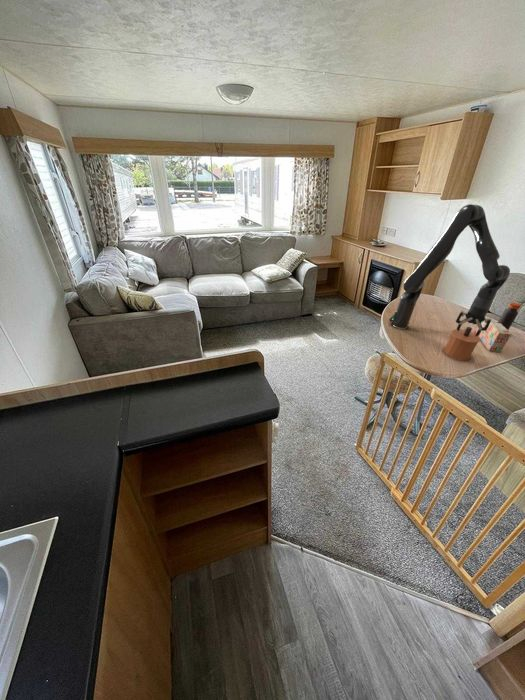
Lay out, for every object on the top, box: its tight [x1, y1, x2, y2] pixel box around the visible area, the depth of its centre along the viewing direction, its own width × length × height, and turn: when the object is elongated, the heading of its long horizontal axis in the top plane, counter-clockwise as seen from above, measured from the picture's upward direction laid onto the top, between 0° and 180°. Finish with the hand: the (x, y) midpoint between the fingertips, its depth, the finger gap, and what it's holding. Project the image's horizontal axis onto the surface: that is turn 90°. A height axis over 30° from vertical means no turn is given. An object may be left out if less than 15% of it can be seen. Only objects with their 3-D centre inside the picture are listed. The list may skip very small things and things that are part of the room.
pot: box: [443, 334, 478, 361], centre depth 158 cm, size 12×12×12 cm
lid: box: [451, 326, 481, 344], centre depth 153 cm, size 14×14×6 cm
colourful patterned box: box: [474, 320, 512, 353], centre depth 170 cm, size 21×6×12 cm, turn 168°
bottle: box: [497, 302, 522, 331], centre depth 178 cm, size 7×7×20 cm
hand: (466, 333), depth 154 cm, fingers open, 8 cm apart
